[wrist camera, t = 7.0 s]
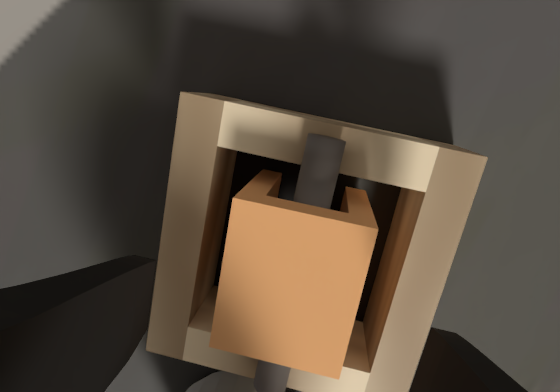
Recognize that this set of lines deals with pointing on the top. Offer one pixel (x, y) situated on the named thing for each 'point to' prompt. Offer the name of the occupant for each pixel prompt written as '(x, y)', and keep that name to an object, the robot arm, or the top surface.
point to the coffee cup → (223, 383)
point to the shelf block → (317, 192)
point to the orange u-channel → (292, 277)
